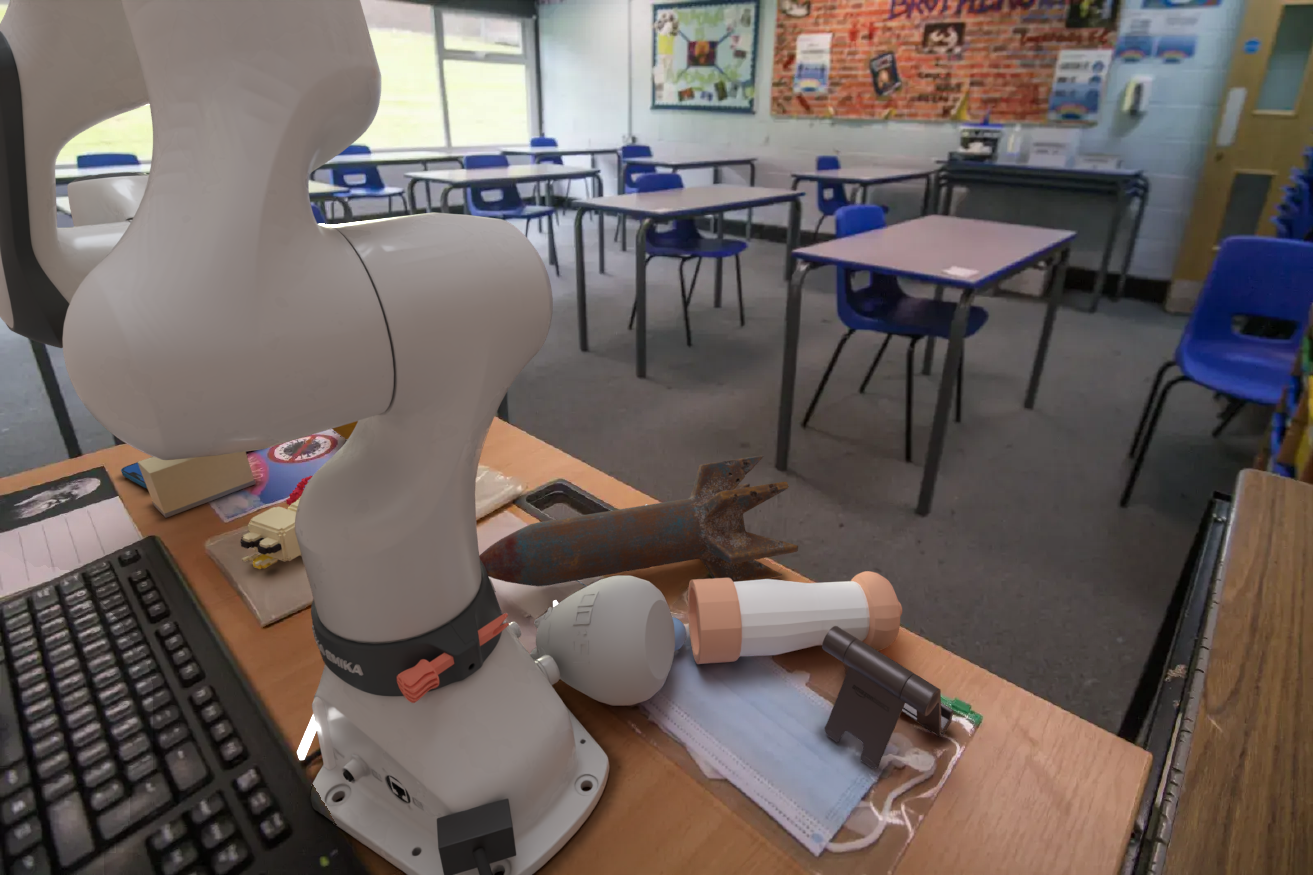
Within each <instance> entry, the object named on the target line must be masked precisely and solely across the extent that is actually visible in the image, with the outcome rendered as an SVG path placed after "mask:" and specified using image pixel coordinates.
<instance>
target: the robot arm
mask: <svg viewBox="0 0 1313 875" xmlns="http://www.w3.org/2000/svg"><path fill="white" fill-rule="evenodd" d="M379 65H380V64H379V62H378V59H377V55H376V52H375V48H374V45H373V41H372V38H371V34H370V30H369V27H368V23H367V19H366V16H365V13H364V9H363V5H362V1H361V0H9V1H8V5H7V8H6V10H5V13H4V16H3V17H2V20H1V21H0V319H1V320H2V322H4V324H5V325H6V327H7V328H8V330H10V331H11V332H13V333H15V334H17V335H20V336H22V337H24V338H27V339H29V340H32V341H34V342H38V343H40V344H44V345H47V346H50V347H54V348H57V349H62V351H63V352H62V355H63V360H64V364H65V369H66V371H67V375H68V378H69V380H70V382H71V384H72V387H73V389H74V392H75V393H76V395H77V396H78V398H79V399H80V401H81V402H82V404H83V406H84V408H86V409H87V411H88V412H89V413H90V415H91V416H93V418H94V419H95V420H96V421H97V422H98V423H99V424H100V425H101V426H102V427H103V428H104V429H106V430H107V432H109V433H110V434H112V435H113V436H114V437H116V438H117V439H119V440H120V441H121V442H123V443H124V444H126V445H128V446H130V447H131V448H133V449H135V450H138V451H139V452H142V453H144V454H146V455H148V456H150V457H156V458H159V459H161V460H175V459H185V458H195V457H205V456H215V455H223V454H231V453H238V452H245V451H247V452H251V451H252V452H253V451H259V450H265V449H266V450H267V449H269V448H272V447H276V446H279V445H282V444H287V443H289V442H292V441H296V440H300V439H302V438H305V437H309V436H312V435H315V434H318V433H322V432H325V431H328V430H333V429H332V428H336V427H339V426H342V425H346V424H349V423H352V422H356V421H358V423H357V425H356V427H355V429H354V430H353V432H352V434H351V435H350V437H349V438H348V440H346V441H345V443H343V445H342V446H341V447H340V448H339V449H338V450H337V451H336V452H335V453H334V454H333V455H332V456H331V457H330V458H329V459H328V460H327V461H326V462H324V463H323V464H322V465H321V466H320V468H318V469H317V471H316V472H314V474H313V475H311V476H312V478H311V479H309V480H308V483H307V485H305V488H303V489H304V491H303V493H302V495H301V498H300V501H299V504H298V507H297V512H296V517H295V534H296V537H297V541H298V545H299V548H300V552H301V555H302V556H301V560H302V563H303V567H304V570H305V573H306V577H307V580H308V585H309V588H310V591H311V594H312V601H311V606H310V615H311V622H312V625H311V629H312V634H313V638H314V642H315V644H316V646H317V649H318V650H319V654H320V656H321V659H322V661H323V663H324V666H323V670H322V673H321V677H320V680H319V683H318V686H317V688H316V691H315V693H314V696H313V701H312V703H311V709H312V716H311V718H310V720H309V723H308V725H307V727H306V730H305V731H304V734H303V737H302V739H301V741H300V744H299V746H298V749H297V751H296V754H297V757H298V759H299V761H304V760H305V759H306V756H307V754H308V752H309V749H310V747H311V745H312V742H313V740H314V737H315V735H316V734H317V739H318V744H319V748H320V753H321V758H322V763H323V765H322V766H321V768H320V769H319V771H318V773H317V774H316V775H315V776H316V777H315V778H314V780H313V782H312V784H313V785H314V787H315V788H316V791H317V792H318V793H319V795H320V797H321V800H322V801H323V802H324V803H325V806H327V808H328V810H329V811H330V813H331V814H330V815H331V816H332V818H333V819H334V821H335V823H336V824H337V825H336V827H337V828H340V829H341V830H342V831H344V832H345V833H346V834H348V835H350V836H351V837H352V838H354V839H355V840H357V841H358V842H360V843H361V844H362V845H364V846H366V847H368V849H370V850H371V851H373V852H374V853H376V854H377V855H379V856H380V857H382V858H383V859H384V860H385V861H387V862H389V863H390V864H392V865H393V866H394V867H396V868H397V869H398V870H400V871H402V872H403V873H404V874H406V875H495V874H497V873H498V872H502V873H503V875H534V874H535V873H536V872H537V871H538V870H540V869H541V868H542V867H544V865H546V864H547V863H548V861H550V860H551V859H552V858H553V857H554V856H555V855H556V854H557V853H558V852H559V851H560V850H561V849H562V848H563V847H564V846H565V845H566V844H567V843H569V840H571V838H572V837H573V836H574V835H575V834H576V833H577V832H578V831H579V830H580V828H581V827H582V825H584V823H585V822H586V821H587V820H588V818H589V817H590V815H591V814H592V812H593V810H595V808H596V806H597V805H598V802H599V801H600V799H601V797H602V795H603V793H604V790H605V788H606V785H607V782H608V779H609V773H610V761H609V757H608V755H607V753H606V752H605V751H604V750H603V748H602V747H601V746H600V744H598V741H596V740H595V738H594V737H593V736H592V735H591V734H590V733H589V732H588V730H587V729H586V728H585V726H583V725H582V723H581V722H580V721H579V720H578V718H577V717H576V716H575V715H574V714H573V712H571V710H570V709H569V708H568V707H567V705H566V704H565V703H564V702H563V700H562V698H561V696H560V695H559V694H558V692H557V691H556V690H555V688H554V687H553V686H554V685H555V684H557V683H558V682H559V681H560V680H561V679H560V672H559V669H558V666H557V664H556V662H555V661H554V660H553V658H552V657H551V656H549V655H544V656H542V657H540V658H538V659H536V660H534V659H533V658H532V657H531V656H530V654H531V653H529V651H528V650H527V648H526V647H525V646H524V644H523V642H522V641H521V640H520V638H521V637H522V630H521V628H520V625H519V624H518V623H517V622H516V621H510V622H507V621H506V619H507V618H508V617H509V614H508V613H507V612H505V613H503V611H502V609H501V606H500V603H499V600H498V598H497V595H496V592H497V591H496V589H495V586H494V583H493V580H492V578H491V577H489V576H488V574H487V571H486V569H485V566H484V565H483V563H482V561H481V560H480V559H479V555H480V551H479V539H478V525H477V508H476V484H477V482H476V481H477V475H478V470H479V465H480V460H481V456H482V453H483V449H484V446H485V444H486V440H487V436H488V434H489V431H490V429H491V426H492V423H493V421H494V419H495V417H496V414H497V412H498V410H499V407H500V405H501V404H502V402H503V400H504V398H505V397H506V394H507V393H508V391H509V389H510V388H511V386H512V385H513V384H514V382H515V380H516V378H517V377H518V376H519V374H520V373H521V372H522V371H523V369H524V368H525V367H526V366H527V364H529V363H530V361H532V359H534V357H535V356H536V355H537V354H538V353H539V352H540V351H541V350H542V348H543V347H544V345H545V342H546V340H547V338H548V336H549V332H550V328H551V325H552V319H553V311H554V310H553V309H554V298H553V290H552V284H551V280H550V276H549V273H548V271H547V270H548V269H547V268H546V266H545V263H544V261H543V259H542V257H541V255H540V253H539V252H538V250H537V249H536V247H535V246H534V244H533V243H532V242H531V240H530V239H529V238H528V237H527V236H526V235H525V234H524V233H523V232H522V231H521V230H520V229H519V228H518V227H517V226H516V225H514V224H512V223H511V222H510V221H507V220H505V219H503V218H502V219H501V218H494V217H487V216H479V215H472V214H460V213H459V214H458V213H447V212H427V213H418V214H410V215H401V216H392V217H385V218H378V219H369V220H362V221H353V222H346V223H338V224H327V223H326V224H325V223H318V222H317V219H316V218H315V215H314V212H313V208H312V204H311V199H310V191H309V190H310V188H309V186H310V185H309V183H310V175H311V174H312V173H313V172H314V171H316V170H317V169H319V168H321V167H322V166H324V165H326V164H327V163H328V162H330V161H331V160H333V159H335V157H337V156H339V155H340V154H342V153H343V152H344V151H345V150H346V149H347V148H349V147H350V146H351V145H353V144H354V143H355V142H356V141H358V140H359V139H360V138H361V137H362V136H363V135H364V134H365V133H366V132H367V130H368V129H369V128H370V127H371V125H372V123H373V122H374V120H375V118H376V116H377V113H378V111H379V107H380V103H381V96H382V73H381V69H380V66H379ZM146 106H149V108H150V109H149V110H150V117H151V125H152V151H151V160H150V168H149V173H148V174H147V173H146V172H140V171H123V172H122V171H121V172H119V171H118V172H106V173H98V174H94V175H93V174H90V175H85V176H79V177H77V178H74V179H73V180H72V181H70V182H69V183H68V184H67V185H66V186H67V187H66V188H67V197H68V198H67V199H68V204H69V209H70V210H69V211H70V214H71V219H72V224H73V226H70V227H69V226H68V227H58V212H57V211H58V210H57V209H58V208H57V207H58V206H57V184H56V182H57V181H56V162H57V159H58V157H59V155H60V153H61V151H62V150H63V149H64V148H65V146H66V145H67V144H68V143H69V142H70V141H71V140H73V139H74V138H75V137H77V136H78V135H80V134H82V133H83V132H85V131H87V130H88V129H91V128H92V127H94V126H96V125H98V124H101V123H103V122H104V121H107V120H109V119H112V118H114V117H117V116H120V115H122V114H125V113H128V112H131V111H134V110H137V109H140V108H144V107H146ZM558 603H559V602H558V601H557V599H555V600H553V601H552V608H553V607H554V606H556V605H557V604H558ZM584 788H585V789H586V788H590V789H589V790H583V789H584ZM341 798H342V800H340V801H338V800H339V799H341Z"/></svg>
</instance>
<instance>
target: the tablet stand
mask: <svg viewBox="0 0 1313 875" xmlns="http://www.w3.org/2000/svg"><path fill="white" fill-rule="evenodd" d="M821 648H822V650H823V651H824V652H826V653H827V654H829V655H830V656H832V657H833V658H835V659H837V660H838V661H840V662H841V663H843V669H844V673H845V677H844V679H843V681H842V684H841V686H840V689H839V692H838V695H837V697H836V699H835V702H834V704H833V707H832V709H831V712H830V714H829V717H828V719H827V722H826V724H825V726H824V733H825V734H826V736H828V738H830V739H832V740H833V741H835V742H836V743H839V742H840V741H841V739H842V737H843V736H844V735H845V733H846V732H847V733H849V734H850V735H852V736H853V737H854V738H856V739H857V740H858V741H860V742H861V743H862V750H861V754H860V759H859V760H860V761H862V762H863V763H865V765H867V766H869V767H870V768H871V769H877V768H878V767H879V766H880V764H881V761H882V759H883V757H884V754H885V751H886V750H887V747H888V745H889V742H890V740H891V737H892V735H893V733H894V731H895V729H896V726H897V724H898V721H899V719H900V716H901V714H904V715H905V716H907V717H909V718H910V719H911V720H913V721H915V722H916V723H917V724H919V725H921V726H922V728H923V729H925V730H927V731H928V732H929V733H933V734H934V735H936V736H937V737H939V738H941V737H943V736H944V735H945V734H946V732H947V731H948V729H949V727H950V725H951V723H952V720H953V717H954V716H953V715H954V712H955V710H954V709H953V708H951V707H949V706H947V704H944V703H943V702H942V697H941V696H942V690H941V688H939V687H937V686H936V685H934V684H932V683H931V682H929V681H928V680H926V679H924V678H922V677H921V676H919V675H918V674H916V673H914V672H913V671H911V670H909V669H908V668H906V667H904V666H903V665H901V664H899V663H898V662H896V661H895V660H893V659H891V658H890V657H888V656H887V655H885V654H884V653H881V652H880V650H879V651H877V650H875V649H874V648H872V647H870V646H869V645H867V644H865V643H864V642H862V641H861V640H859V639H857V638H856V637H854V636H852V635H851V634H849V633H847V632H846V631H844V630H843V629H841V628H839V627H838V626H834V627H832V628H831V629H830V630H829V631H828V633H827V634H826V636H825V638H824V640H823V644H822V645H821Z"/></svg>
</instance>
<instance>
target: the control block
mask: <svg viewBox="0 0 1313 875" xmlns="http://www.w3.org/2000/svg"><path fill="white" fill-rule="evenodd" d="M150 457H151V458H150ZM150 457H147V458H145V459H142V460H139V461H137V462H138V465H139V467H140V470H141V473H142V475H143V478H144V480H145V483H146V486H147V488H146V489H147V491H148V493H149V496H150V500H151V503H152V506H153V507H155V509H156V510H158V512H159V513H160V514H161V515H163V517H164V518H170V517H172V516H175V515H177V514H180V513H183V512H186V511H188V510H191V509H193V508H196V507H199V506H202V505H203V504H206V503H209V502H211V501H215V500H217V499H220V498H222V497H225V496H227V495H230V494H232V493H233V494H234V493H236V492H238V491H240V490H243V489H244V490H245V489H246V488H248V487H251V486H255V485H256V480H255V478H254V475H253V472H252V469H251V468H252V467H251V465H250V461H249V458H248V455H247V452H246V451H245V452H238V453H231V454H223V455H215V456H205V457H195V458H185V459H175V460H161V459H159V458H156V457H153V456H150Z"/></svg>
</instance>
